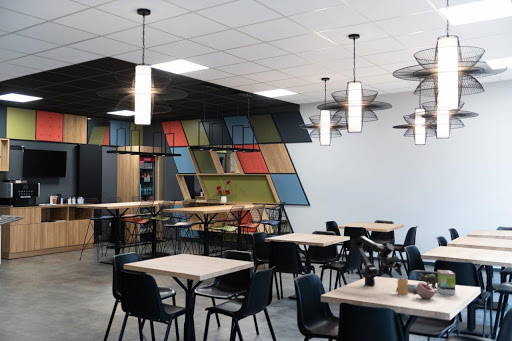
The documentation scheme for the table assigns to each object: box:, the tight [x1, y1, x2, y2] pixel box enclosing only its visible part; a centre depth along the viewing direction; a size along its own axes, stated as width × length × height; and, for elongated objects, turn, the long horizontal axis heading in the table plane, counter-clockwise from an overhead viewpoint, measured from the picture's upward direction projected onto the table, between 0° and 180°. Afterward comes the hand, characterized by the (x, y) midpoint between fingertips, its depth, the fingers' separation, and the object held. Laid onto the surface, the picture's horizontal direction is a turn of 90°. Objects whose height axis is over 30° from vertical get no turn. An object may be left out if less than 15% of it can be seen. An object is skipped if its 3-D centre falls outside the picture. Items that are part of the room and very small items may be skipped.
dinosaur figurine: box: [418, 272, 437, 290], centre depth 355 cm, size 22×8×11 cm, turn 123°
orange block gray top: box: [397, 277, 409, 296], centre depth 333 cm, size 5×4×11 cm
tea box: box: [436, 269, 456, 296], centre depth 339 cm, size 15×10×15 cm, turn 168°
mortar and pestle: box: [416, 281, 436, 300], centre depth 319 cm, size 12×12×11 cm
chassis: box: [396, 283, 418, 294], centre depth 344 cm, size 16×15×4 cm
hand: (397, 276), depth 338 cm, fingers open, 9 cm apart
